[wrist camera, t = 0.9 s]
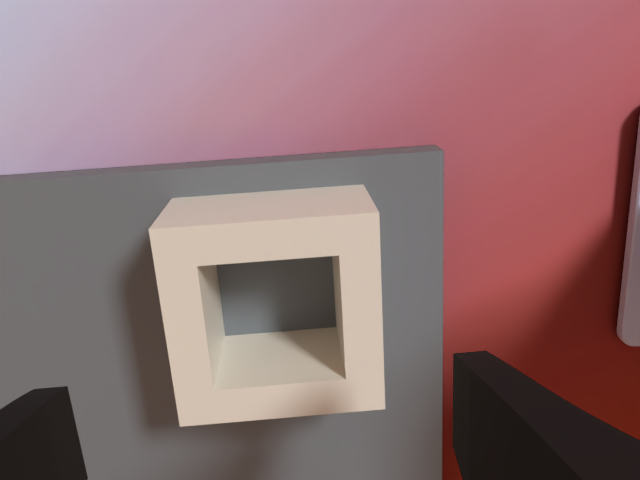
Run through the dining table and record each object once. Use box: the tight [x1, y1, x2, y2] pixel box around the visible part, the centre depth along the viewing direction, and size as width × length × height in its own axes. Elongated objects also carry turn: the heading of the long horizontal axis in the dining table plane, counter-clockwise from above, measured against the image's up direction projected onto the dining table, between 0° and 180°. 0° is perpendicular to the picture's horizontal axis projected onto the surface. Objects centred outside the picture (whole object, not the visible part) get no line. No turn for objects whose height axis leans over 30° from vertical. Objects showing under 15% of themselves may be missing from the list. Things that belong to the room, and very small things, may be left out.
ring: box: [148, 184, 385, 427], centre depth 16 cm, size 5×5×3 cm
